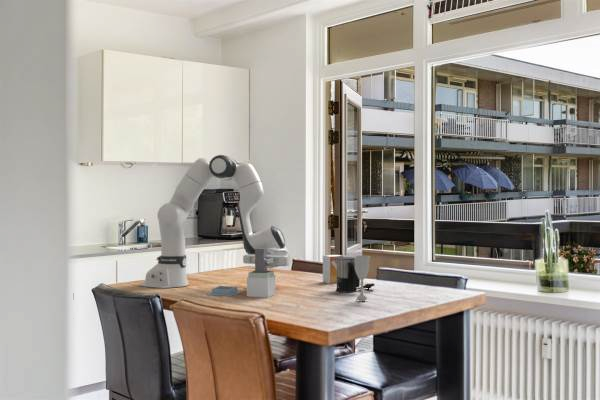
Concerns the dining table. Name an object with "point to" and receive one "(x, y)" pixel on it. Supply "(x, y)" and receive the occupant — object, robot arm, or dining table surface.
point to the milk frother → (348, 275)
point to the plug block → (260, 260)
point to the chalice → (361, 272)
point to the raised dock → (260, 284)
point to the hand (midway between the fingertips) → (260, 261)
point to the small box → (330, 268)
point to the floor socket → (224, 291)
